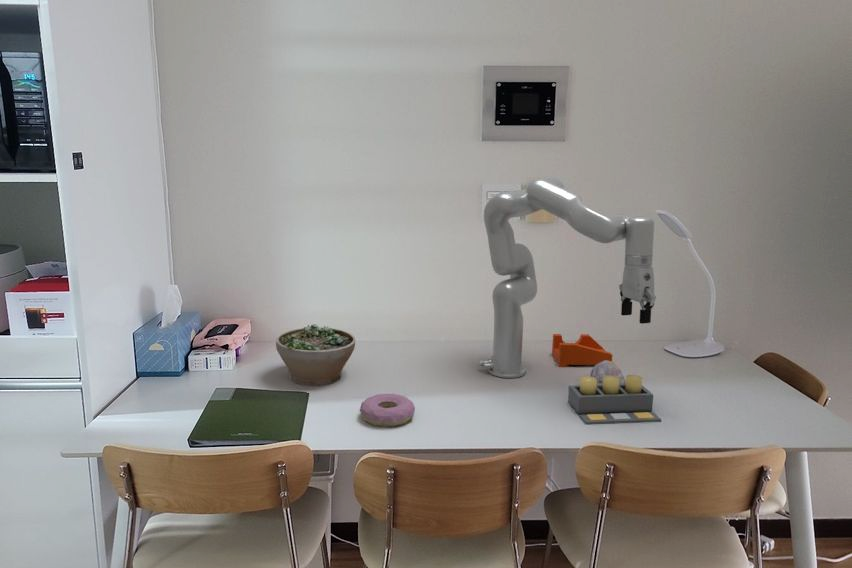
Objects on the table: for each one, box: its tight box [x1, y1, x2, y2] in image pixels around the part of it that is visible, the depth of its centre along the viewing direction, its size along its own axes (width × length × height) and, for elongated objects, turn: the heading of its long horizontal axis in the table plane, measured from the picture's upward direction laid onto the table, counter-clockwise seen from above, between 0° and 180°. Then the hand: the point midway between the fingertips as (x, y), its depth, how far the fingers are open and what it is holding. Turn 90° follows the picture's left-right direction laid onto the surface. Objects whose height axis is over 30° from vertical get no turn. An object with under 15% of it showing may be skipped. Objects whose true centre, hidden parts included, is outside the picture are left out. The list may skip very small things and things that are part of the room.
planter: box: [275, 323, 356, 387], centre depth 216 cm, size 26×25×15 cm
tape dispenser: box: [551, 333, 613, 368], centre depth 236 cm, size 18×13×8 cm
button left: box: [579, 375, 597, 396], centre depth 194 cm, size 5×5×5 cm
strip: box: [578, 411, 662, 425], centre depth 189 cm, size 22×5×1 cm, turn 97°
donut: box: [359, 393, 416, 428], centre depth 187 cm, size 16×15×5 cm
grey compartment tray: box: [567, 384, 654, 416], centre depth 196 cm, size 22×9×6 cm, turn 97°
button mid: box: [602, 375, 620, 395], centre depth 195 cm, size 5×5×5 cm
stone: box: [589, 360, 626, 385], centre depth 215 cm, size 17×10×10 cm
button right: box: [625, 374, 643, 394], centre depth 196 cm, size 5×5×5 cm
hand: (635, 318), depth 194 cm, fingers open, 9 cm apart
